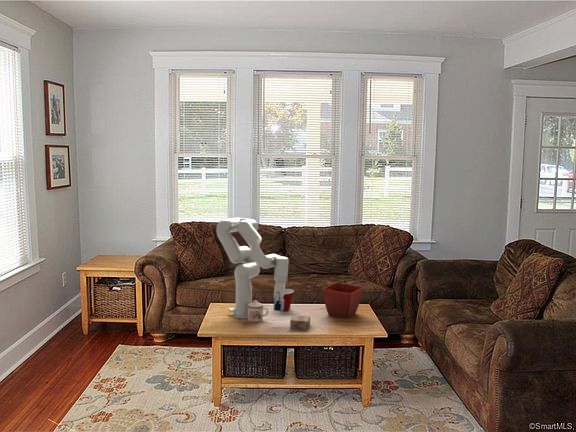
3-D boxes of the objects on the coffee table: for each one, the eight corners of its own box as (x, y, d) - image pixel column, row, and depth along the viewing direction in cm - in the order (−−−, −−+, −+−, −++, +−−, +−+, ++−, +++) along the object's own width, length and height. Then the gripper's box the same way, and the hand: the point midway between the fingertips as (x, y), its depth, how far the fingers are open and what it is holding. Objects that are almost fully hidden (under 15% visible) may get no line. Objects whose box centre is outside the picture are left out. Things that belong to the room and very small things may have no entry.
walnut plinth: (290, 328, 300) (290, 320, 299) (292, 323, 310) (292, 314, 309) (307, 330, 298) (308, 321, 298) (309, 324, 308) (310, 316, 308)
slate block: (273, 310, 306) (274, 300, 306) (274, 307, 311) (275, 297, 310) (281, 311, 306) (282, 301, 305) (283, 308, 311) (284, 298, 310)
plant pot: (349, 321, 316) (350, 293, 314) (320, 315, 326) (321, 288, 324) (362, 313, 332) (363, 287, 330) (335, 308, 342) (335, 282, 340)
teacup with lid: (247, 322, 310) (247, 302, 309) (248, 317, 319) (248, 298, 318) (267, 322, 310) (268, 302, 309) (268, 317, 319) (268, 298, 318)
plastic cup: (275, 307, 342) (275, 288, 341) (292, 306, 343) (292, 288, 342) (276, 311, 331) (277, 292, 330) (294, 311, 333) (294, 292, 331)
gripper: (276, 274, 315) (274, 303, 317) (271, 281, 298) (269, 312, 301) (289, 275, 314) (287, 305, 316) (284, 282, 297) (282, 314, 300)
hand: (278, 308), depth 308 cm, fingers closed on slate block, 5 cm apart
